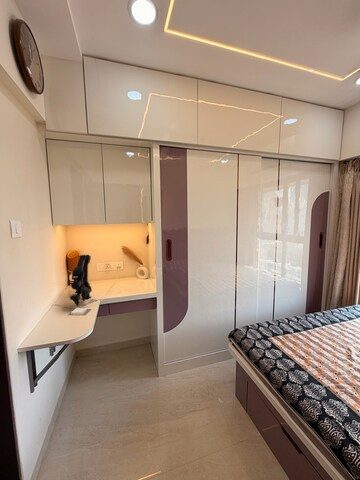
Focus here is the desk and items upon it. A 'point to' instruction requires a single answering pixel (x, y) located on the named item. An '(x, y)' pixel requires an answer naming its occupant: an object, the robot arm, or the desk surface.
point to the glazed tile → (79, 311)
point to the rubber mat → (84, 313)
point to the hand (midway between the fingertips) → (81, 303)
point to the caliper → (87, 303)
